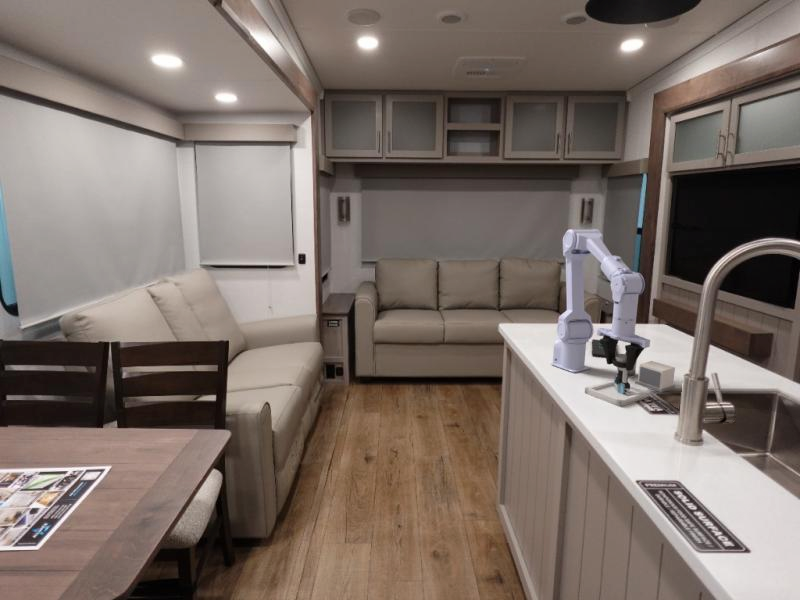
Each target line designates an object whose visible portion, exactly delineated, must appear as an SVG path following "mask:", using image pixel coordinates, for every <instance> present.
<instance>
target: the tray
mask: <svg viewBox="0 0 800 600" xmlns="http://www.w3.org/2000/svg"><path fill="white" fill-rule="evenodd" d="M629 390H630V391H629V393H630V394H629V393H628V394H627V393H621V392H620V391H619V390H615V387H614V379H612V380H609V381H605V382H601V383H598V384H594V385H590V386H586V387H584V394H587V395H590V396H591V397H594V398H596V399H599V400H602V401H603V402H606V403H610V404H612V405H615V406H617V407H623V406H626V405H630V404H633V403H637V402H639V401H642V400H645V399H648V398H647V397H649V396H650V397H651V391H649V390H646V389H643V388H640V387H637V386H634V385H632V384H630V389H629ZM650 397H649V398H650ZM644 398H645V399H644Z"/></svg>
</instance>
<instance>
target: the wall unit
mask: <svg viewBox="0 0 800 600" xmlns="http://www.w3.org/2000/svg"><path fill="white" fill-rule="evenodd" d="M675 370H676V367H674V366H671V365H667V364H664V363H660V362H657V361H653V360H651V361H646V362H643V363H639V365H638V374H637V375H638V376H637V380H635V381H634V382H635V383H634V384H636V385H639V386H642V387H644V388H648V389H651V390H653V391H657V392H660V393H663V392H667V391H670V390H673V389H675V388H676V385H674V379H675V372H676V371H675Z"/></svg>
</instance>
